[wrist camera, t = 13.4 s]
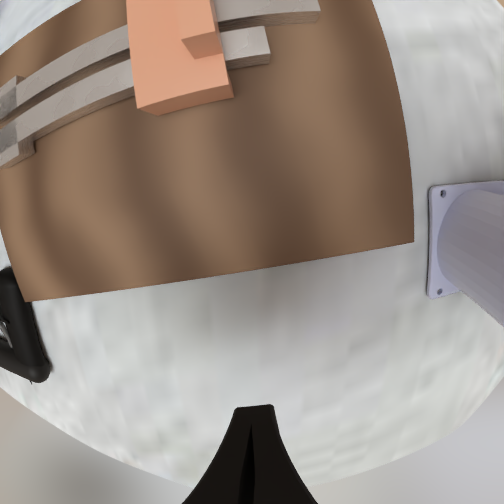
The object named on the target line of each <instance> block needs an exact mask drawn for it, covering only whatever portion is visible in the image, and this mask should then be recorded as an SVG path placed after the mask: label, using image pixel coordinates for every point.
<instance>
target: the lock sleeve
mask: <svg viewBox="0 0 504 504" xmlns="http://www.w3.org/2000/svg"><path fill="white" fill-rule="evenodd" d="M126 8H127V24H128V37H129V48H130V57H131V66H132V75H133V83H134V90H135V97H136V104H137V109H140V110H143V111H146V112H148V113H151V114H154V115H157V116H159V115H163V114H166V113H170V112H173V111H177V110H181V109H185V108H189V107H193V106H197V105H201V104H205V103H210V102H214V101H219V100H224V99H229V98H234V94H233V89H232V84H231V81H230V78H229V75H228V72H227V67H226V62H225V57H224V52H223V47H222V42H221V37H220V32H219V27H218V22H217V17H216V12H215V7H214V2H213V0H126Z"/></svg>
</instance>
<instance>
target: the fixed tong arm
mask: <svg viewBox="0 0 504 504" xmlns="http://www.w3.org/2000/svg"><path fill="white" fill-rule="evenodd" d="M213 2H214V7H215V12H216V17H217V22H218V27H219V32H220V33H222V32H227V31H233V30H238V29H245V28H251V27H258V26H264V27H268V26H278V25H289V24H306V23H315V22H316V20H317V18H318V16H319V14H320V12H321V10H320V6H319V3H318V0H213ZM128 59H131V57H130V48H129V37H128V24H127V25H125V26H122V27H120V28H117V29H115V30H113V31H110V32H108V33H106V34H104V35H101V36H99V37H97V38H95V39H93V40H91V41H89V42H87V43H85V44H83V45H81V46H79V47H77V48H75V49H73V50H72V51H70V52H68V53H66V54H64V55H63V56H61V57H59V58H57V59H56V60H54V61H52V62H51V63H49V64H47V65H46V66H44V67H43V68H41V69H40V70H38V71H36V72H35V73H33V74H32V75H31V76H29V77H28V78H27V77H22V76H17V75H16V76H15V77H13V78H12V79H11V80H9V81H8V82H7V83H6V84H4V85H3V86H2V87H1V88H0V126H6V125H7V124H9V123H10V122H11V121H13V120H14V119H16V118H17V117H19V116H20V115H22V114H23V113H25V112H26V111H28V110H29V109H31V108H32V107H34V106H36V105H37V104H39V103H40V102H42V101H44V100H45V99H47V98H49V97H51V96H52V95H54V94H56V93H58V92H59V91H61V90H63V89H65V88H67V87H69V86H71V85H73V84H75V83H76V82H78V81H80V80H83V79H85V78H87V77H89V76H91V75H93V74H95V73H97V72H100V71H102V70H104V69H106V68H109V67H111V66H113V65H116V64H118V63H121V62H123V61H126V60H128Z"/></svg>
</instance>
